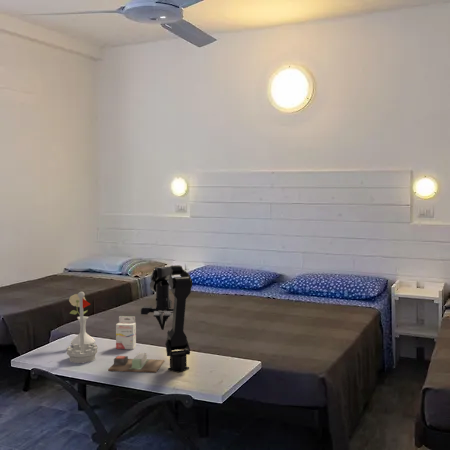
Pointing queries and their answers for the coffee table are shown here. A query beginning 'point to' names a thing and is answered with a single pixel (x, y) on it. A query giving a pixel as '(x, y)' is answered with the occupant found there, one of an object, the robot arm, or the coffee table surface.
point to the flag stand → (82, 340)
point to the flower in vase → (76, 302)
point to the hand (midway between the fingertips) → (163, 329)
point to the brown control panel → (126, 365)
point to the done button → (121, 357)
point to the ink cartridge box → (126, 333)
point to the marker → (139, 360)
